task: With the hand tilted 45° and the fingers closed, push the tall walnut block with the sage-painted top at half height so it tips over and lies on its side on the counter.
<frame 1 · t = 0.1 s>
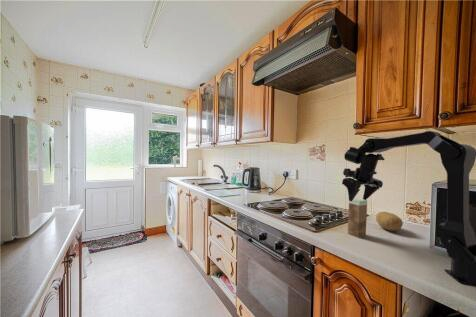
hand: (357, 200, 90), 15 cm above the countertop, tool pointing down, fingers open, 9 cm apart
walnut block: (356, 234, 90), on the countertop
potato: (387, 229, 98), on the countertop
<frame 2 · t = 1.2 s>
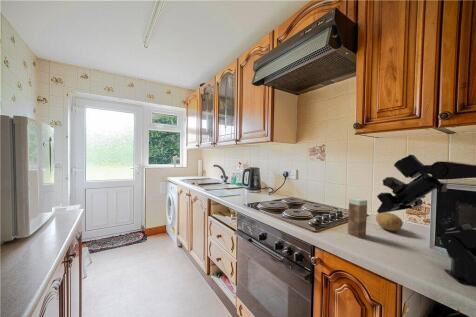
hand: (382, 211, 80), 14 cm above the countertop, tool tilted 45°, fingers open, 6 cm apart
nothing on the countertop moved.
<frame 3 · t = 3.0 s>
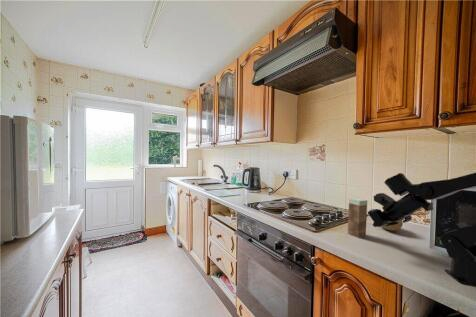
hand: (373, 225, 83), 7 cm above the countertop, tool tilted 45°, fingers closed
nothing on the countertop moved.
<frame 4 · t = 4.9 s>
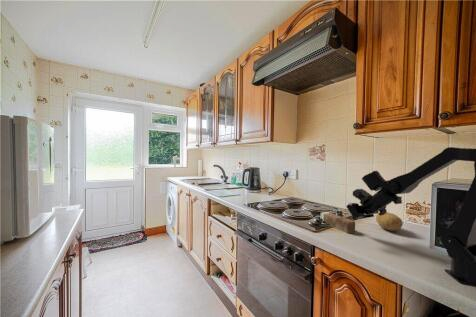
hand: (353, 218, 92), 7 cm above the countertop, tool tilted 45°, fingers closed
walnut block: (351, 227, 92), point 2 cm above the countertop, tilted 90°
everything else where it was.
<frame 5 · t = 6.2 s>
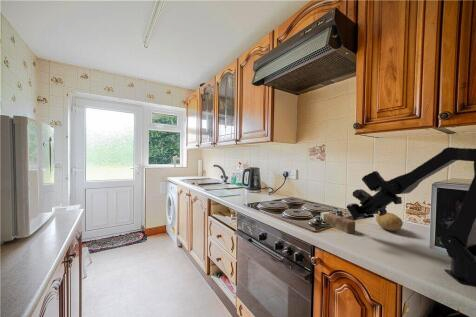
hand: (353, 219, 91), 7 cm above the countertop, tool tilted 45°, fingers closed
nothing on the countertop moved.
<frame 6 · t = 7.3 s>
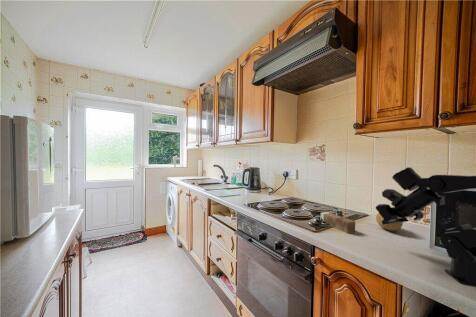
hand: (382, 223, 80), 9 cm above the countertop, tool tilted 45°, fingers closed
nothing on the countertop moved.
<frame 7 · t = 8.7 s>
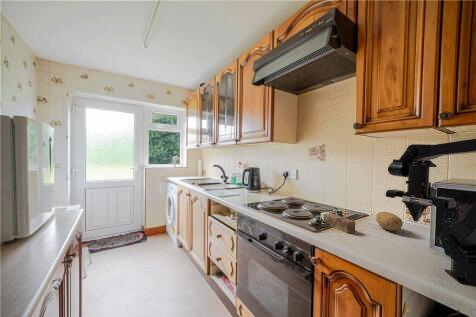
hand: (416, 221, 74), 12 cm above the countertop, tool pointing down, fingers closed
nothing on the countertop moved.
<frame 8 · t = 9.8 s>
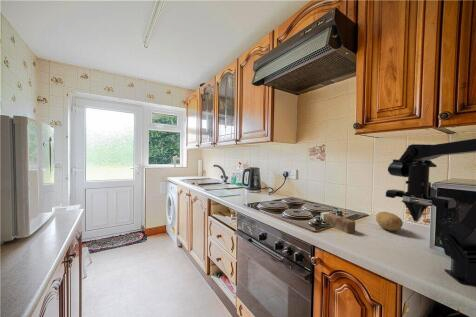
hand: (416, 221, 74), 12 cm above the countertop, tool pointing down, fingers closed
nothing on the countertop moved.
at the end: walnut block tilted 90°; walnut block inside the target area (1.5 cm from its centre), point 2.4 cm above the countertop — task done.
